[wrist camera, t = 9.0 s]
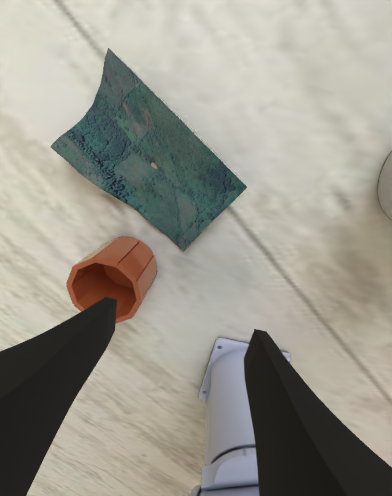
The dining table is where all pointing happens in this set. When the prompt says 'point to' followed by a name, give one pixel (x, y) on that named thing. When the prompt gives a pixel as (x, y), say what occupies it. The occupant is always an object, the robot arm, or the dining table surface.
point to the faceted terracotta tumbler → (114, 276)
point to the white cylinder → (386, 187)
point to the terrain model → (148, 157)
